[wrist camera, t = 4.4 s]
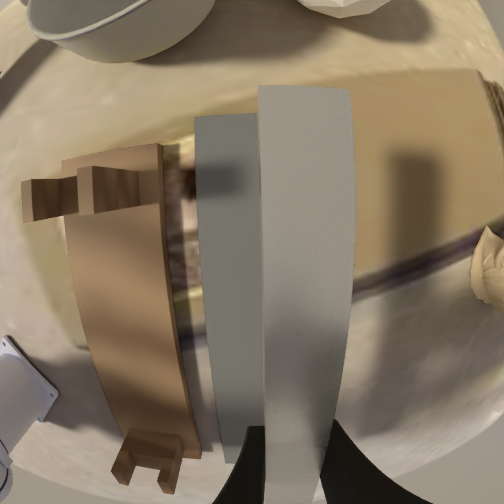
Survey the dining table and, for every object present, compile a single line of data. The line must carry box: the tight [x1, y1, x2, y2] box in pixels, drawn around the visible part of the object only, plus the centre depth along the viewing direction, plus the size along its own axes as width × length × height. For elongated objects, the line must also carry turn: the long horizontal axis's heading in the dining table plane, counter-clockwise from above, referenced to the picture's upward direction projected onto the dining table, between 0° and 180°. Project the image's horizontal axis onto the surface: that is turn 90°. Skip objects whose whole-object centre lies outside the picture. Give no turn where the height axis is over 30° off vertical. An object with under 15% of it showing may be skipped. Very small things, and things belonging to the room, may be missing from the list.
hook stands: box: [21, 143, 202, 495], centre depth 15 cm, size 25×7×6 cm, turn 2°
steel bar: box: [257, 85, 356, 504], centre depth 9 cm, size 24×2×2 cm, turn 2°
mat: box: [195, 113, 264, 464], centre depth 18 cm, size 28×9×1 cm, turn 2°
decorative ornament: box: [470, 226, 504, 313], centre depth 15 cm, size 4×8×5 cm, turn 38°
